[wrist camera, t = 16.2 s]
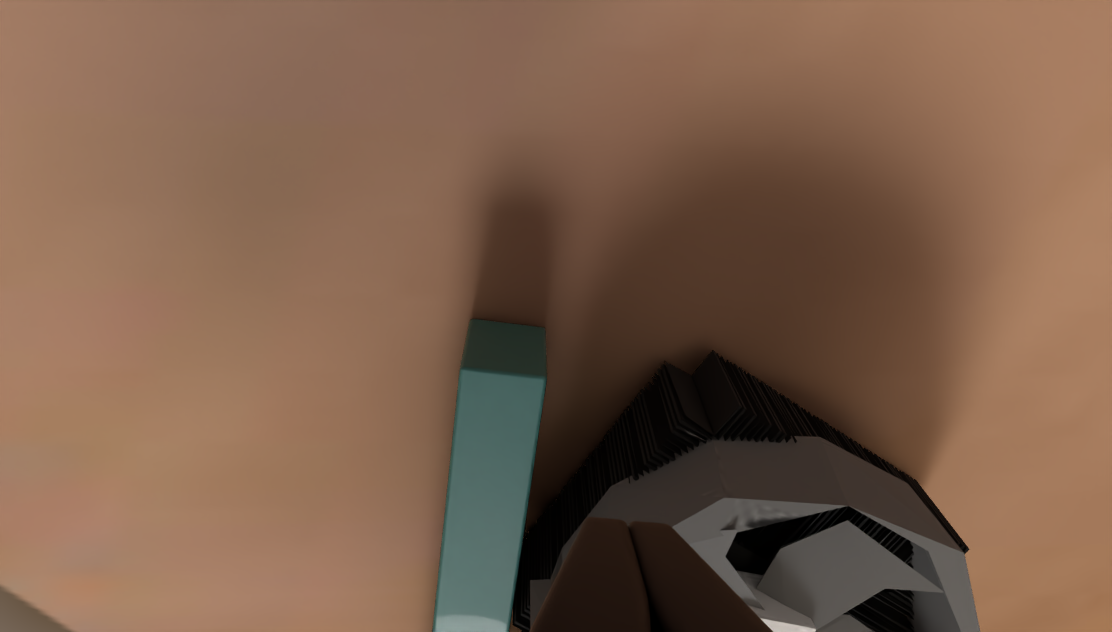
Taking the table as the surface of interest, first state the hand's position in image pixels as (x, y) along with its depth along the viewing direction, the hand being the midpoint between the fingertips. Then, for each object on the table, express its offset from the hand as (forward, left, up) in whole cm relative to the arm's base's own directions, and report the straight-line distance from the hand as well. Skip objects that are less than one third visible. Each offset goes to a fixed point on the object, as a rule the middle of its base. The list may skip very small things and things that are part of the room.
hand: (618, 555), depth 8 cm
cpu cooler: (+9, +6, -13) cm, 17 cm away
